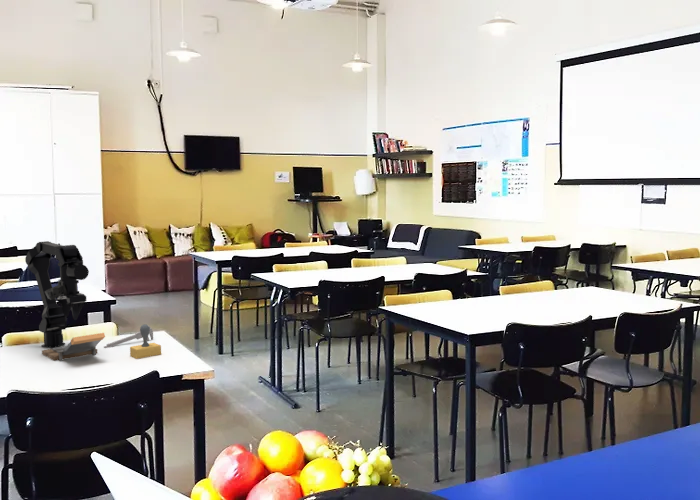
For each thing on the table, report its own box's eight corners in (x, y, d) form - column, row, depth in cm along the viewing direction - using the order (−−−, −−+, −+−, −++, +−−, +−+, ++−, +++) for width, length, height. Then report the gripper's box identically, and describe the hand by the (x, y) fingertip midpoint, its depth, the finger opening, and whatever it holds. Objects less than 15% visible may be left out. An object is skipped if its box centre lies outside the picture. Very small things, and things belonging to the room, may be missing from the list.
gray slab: (61, 352, 253) (73, 337, 243) (91, 347, 260) (103, 332, 250) (62, 356, 252) (74, 341, 242) (92, 351, 260) (105, 336, 250)
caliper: (152, 340, 285) (151, 325, 284) (153, 340, 284) (152, 325, 283) (103, 348, 271) (102, 332, 271) (104, 348, 271) (104, 333, 270)
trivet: (42, 354, 261) (41, 345, 261) (84, 347, 272) (83, 338, 272) (56, 361, 250) (56, 352, 250) (99, 354, 261) (99, 345, 261)
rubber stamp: (136, 359, 254) (135, 327, 253) (130, 356, 258) (128, 324, 257) (161, 354, 261) (160, 323, 259) (154, 351, 265) (153, 321, 264)
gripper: (38, 278, 263) (40, 318, 265) (55, 282, 249) (57, 324, 251) (67, 275, 271) (70, 314, 272) (85, 279, 257) (88, 320, 258)
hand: (70, 318), depth 263 cm, fingers open, 9 cm apart
